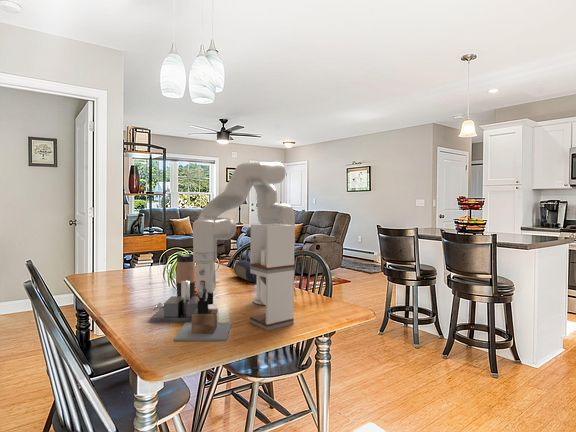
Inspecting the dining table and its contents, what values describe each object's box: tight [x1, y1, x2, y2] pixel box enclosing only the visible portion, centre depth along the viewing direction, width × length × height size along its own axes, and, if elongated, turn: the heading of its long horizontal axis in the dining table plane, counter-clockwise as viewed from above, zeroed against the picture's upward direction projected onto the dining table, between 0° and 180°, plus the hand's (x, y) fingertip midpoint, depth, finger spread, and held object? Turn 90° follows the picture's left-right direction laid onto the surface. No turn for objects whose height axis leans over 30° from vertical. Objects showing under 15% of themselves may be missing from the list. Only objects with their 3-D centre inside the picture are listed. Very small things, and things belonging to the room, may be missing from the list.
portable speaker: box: [233, 259, 257, 284], centre depth 208 cm, size 25×10×10 cm, turn 30°
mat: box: [173, 321, 233, 342], centre depth 124 cm, size 16×16×1 cm
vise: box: [149, 280, 219, 323], centre depth 139 cm, size 22×12×14 cm, turn 92°
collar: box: [192, 308, 218, 334], centre depth 124 cm, size 7×7×6 cm
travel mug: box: [176, 253, 196, 299], centre depth 161 cm, size 8×8×20 cm
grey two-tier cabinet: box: [249, 223, 296, 331], centre depth 133 cm, size 11×11×35 cm
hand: (205, 308), depth 124 cm, fingers open, 9 cm apart
